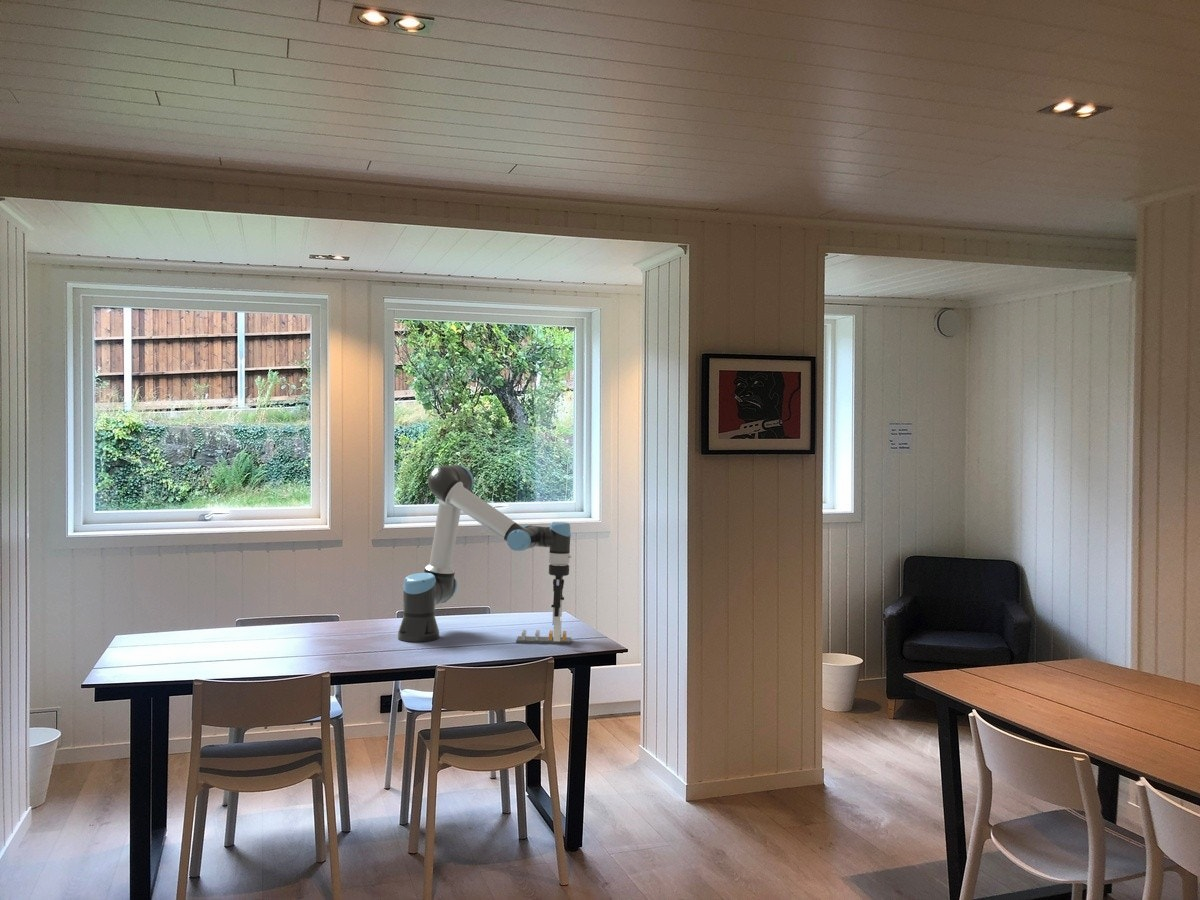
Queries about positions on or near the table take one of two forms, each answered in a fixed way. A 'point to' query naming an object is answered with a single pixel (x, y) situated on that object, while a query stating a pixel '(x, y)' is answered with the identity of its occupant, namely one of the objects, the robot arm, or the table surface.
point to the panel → (557, 631)
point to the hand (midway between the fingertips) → (557, 621)
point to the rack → (543, 638)
